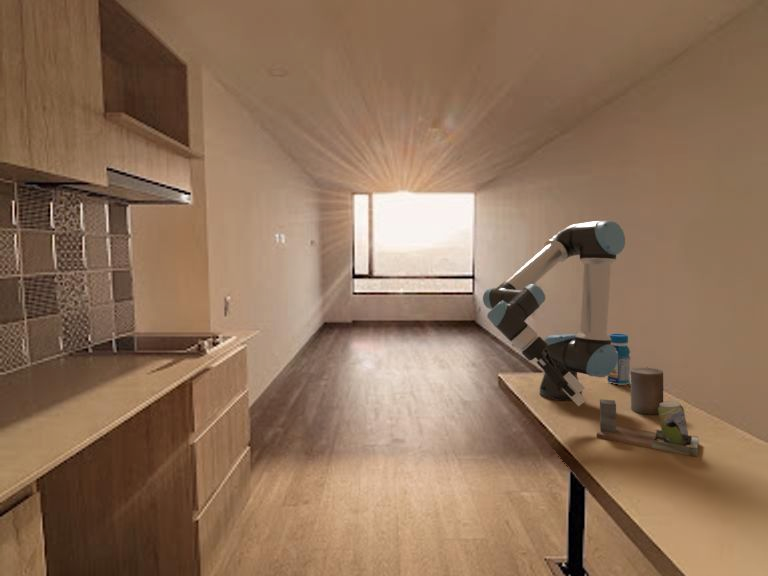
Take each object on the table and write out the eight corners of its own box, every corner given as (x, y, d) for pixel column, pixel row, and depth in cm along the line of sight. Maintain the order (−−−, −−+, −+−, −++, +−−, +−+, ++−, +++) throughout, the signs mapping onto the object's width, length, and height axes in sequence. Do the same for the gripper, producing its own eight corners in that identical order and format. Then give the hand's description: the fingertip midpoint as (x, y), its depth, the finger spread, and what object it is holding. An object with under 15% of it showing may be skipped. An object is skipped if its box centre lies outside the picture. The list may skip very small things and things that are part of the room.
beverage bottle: (629, 386, 183) (629, 337, 182) (606, 384, 187) (606, 335, 186) (630, 381, 190) (630, 333, 189) (608, 379, 195) (608, 332, 193)
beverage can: (693, 451, 122) (694, 407, 121) (663, 449, 123) (663, 406, 123) (683, 442, 128) (683, 399, 127) (654, 440, 130) (654, 399, 129)
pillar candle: (670, 412, 153) (670, 367, 152) (651, 417, 148) (651, 371, 148) (642, 404, 161) (642, 362, 161) (623, 409, 157) (623, 365, 156)
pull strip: (602, 426, 141) (602, 396, 140) (698, 443, 126) (699, 409, 126) (594, 436, 133) (594, 404, 132) (696, 456, 118) (697, 420, 118)
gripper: (524, 344, 154) (572, 392, 149) (516, 360, 131) (572, 417, 126) (541, 329, 152) (590, 378, 147) (535, 342, 129) (593, 400, 124)
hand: (582, 396), depth 137 cm, fingers open, 13 cm apart
